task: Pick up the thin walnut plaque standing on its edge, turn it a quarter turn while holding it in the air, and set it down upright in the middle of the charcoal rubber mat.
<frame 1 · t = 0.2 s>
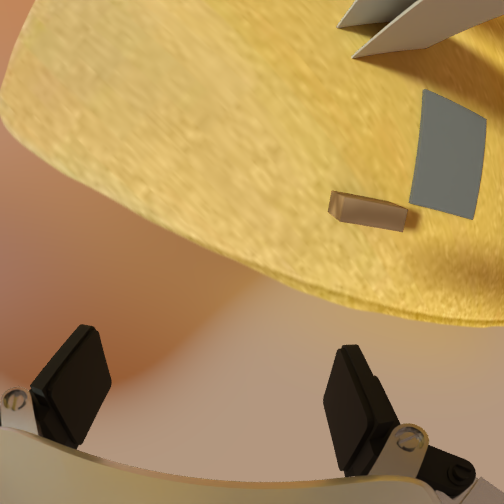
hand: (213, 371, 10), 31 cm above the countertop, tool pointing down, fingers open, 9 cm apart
walnut plaque: (359, 206, 39), on the countertop
brochure: (384, 36, 31), on the countertop
mat: (451, 156, 36), on the countertop
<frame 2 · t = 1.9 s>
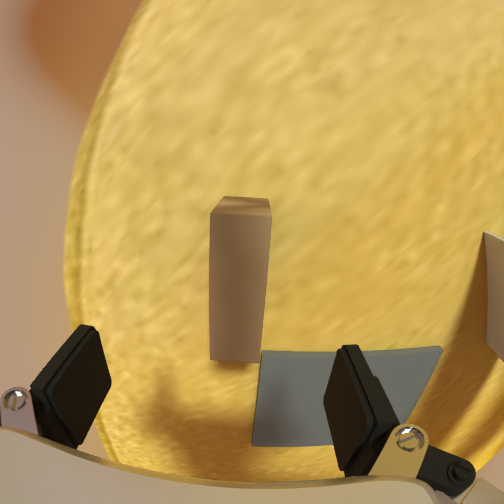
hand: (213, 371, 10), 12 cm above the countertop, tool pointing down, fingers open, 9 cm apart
walnut plaque: (242, 259, 21), on the countertop
brochure: (503, 282, 22), on the countertop
mat: (344, 403, 26), on the countertop
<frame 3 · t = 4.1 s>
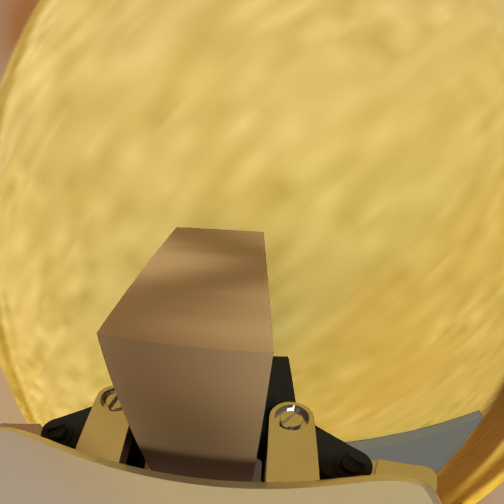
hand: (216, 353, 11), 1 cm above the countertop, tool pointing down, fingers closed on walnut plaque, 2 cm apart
walnut plaque: (217, 335, 12), on the countertop, touching gripper
mat: (358, 481, 17), on the countertop
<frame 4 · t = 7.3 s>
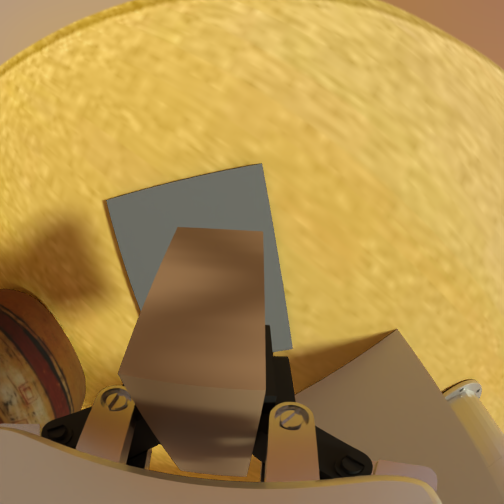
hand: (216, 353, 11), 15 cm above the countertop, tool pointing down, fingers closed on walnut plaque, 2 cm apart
ceramic pitcher: (39, 343, 30), on the countertop
walnut plaque: (220, 318, 13), point 14 cm above the countertop, tilted 16°, touching gripper
brochure: (355, 376, 31), on the countertop
mat: (203, 277, 27), on the countertop
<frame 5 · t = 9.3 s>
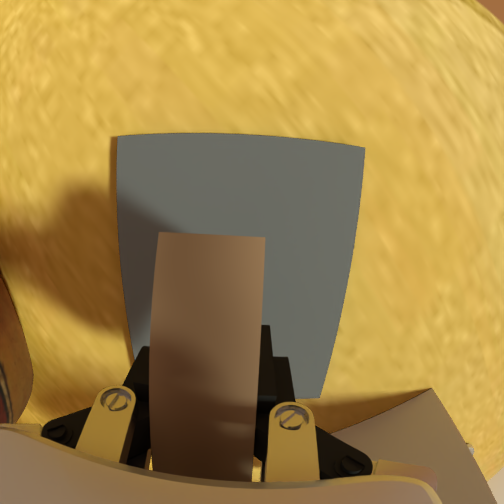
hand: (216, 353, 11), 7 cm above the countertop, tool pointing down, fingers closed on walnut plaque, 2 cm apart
walnut plaque: (219, 360, 13), point 6 cm above the countertop, tilted 29°, touching gripper
brochure: (369, 431, 23), on the countertop
mat: (232, 285, 18), on the countertop
when the fingers open (3 cm above the countertop, at t = 10.8 s): walnut plaque drops 2 cm, resting on mat.
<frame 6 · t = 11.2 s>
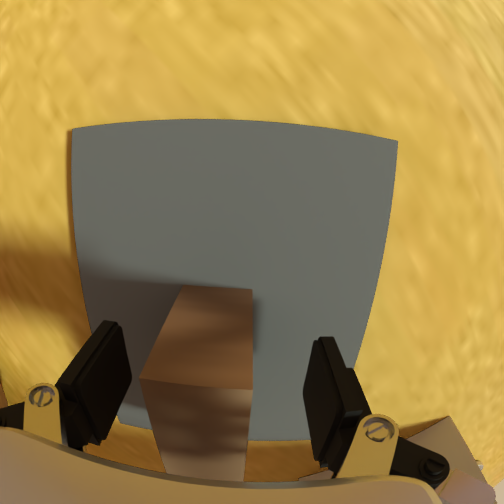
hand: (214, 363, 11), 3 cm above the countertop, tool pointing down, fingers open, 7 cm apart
walnut plaque: (216, 366, 14), point 1 cm above the countertop, touching mat
brochure: (379, 462, 19), on the countertop
mat: (222, 319, 14), on the countertop
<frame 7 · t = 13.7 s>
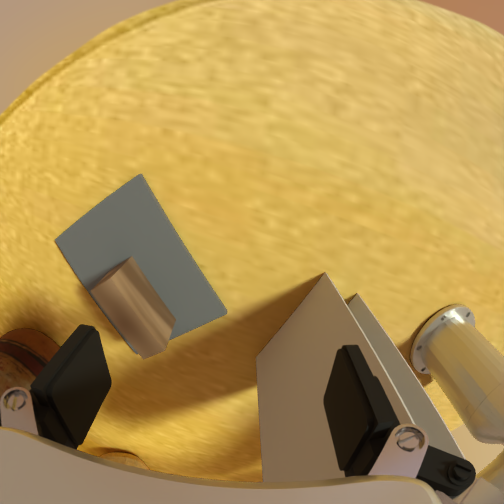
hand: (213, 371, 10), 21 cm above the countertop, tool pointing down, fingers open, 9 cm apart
ceramic pitcher: (52, 367, 37), on the countertop
walnut plaque: (144, 294, 32), point 1 cm above the countertop, touching mat
potato: (125, 455, 46), on the countertop
brochure: (305, 327, 35), on the countertop
mat: (135, 273, 32), on the countertop
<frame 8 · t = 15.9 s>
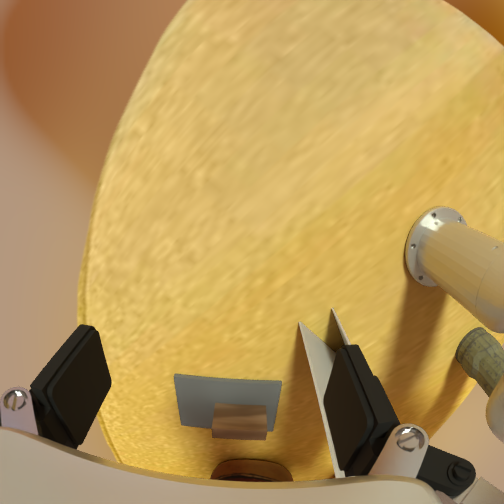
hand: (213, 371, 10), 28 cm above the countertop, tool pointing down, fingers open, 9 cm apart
ceramic pitcher: (251, 469, 56), on the countertop
walnut plaque: (240, 409, 47), point 1 cm above the countertop, touching mat
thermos: (470, 344, 45), on the countertop
brochure: (329, 347, 44), on the countertop
mat: (227, 405, 48), on the countertop
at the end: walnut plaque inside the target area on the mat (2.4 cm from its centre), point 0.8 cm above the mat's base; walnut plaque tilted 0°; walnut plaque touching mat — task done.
